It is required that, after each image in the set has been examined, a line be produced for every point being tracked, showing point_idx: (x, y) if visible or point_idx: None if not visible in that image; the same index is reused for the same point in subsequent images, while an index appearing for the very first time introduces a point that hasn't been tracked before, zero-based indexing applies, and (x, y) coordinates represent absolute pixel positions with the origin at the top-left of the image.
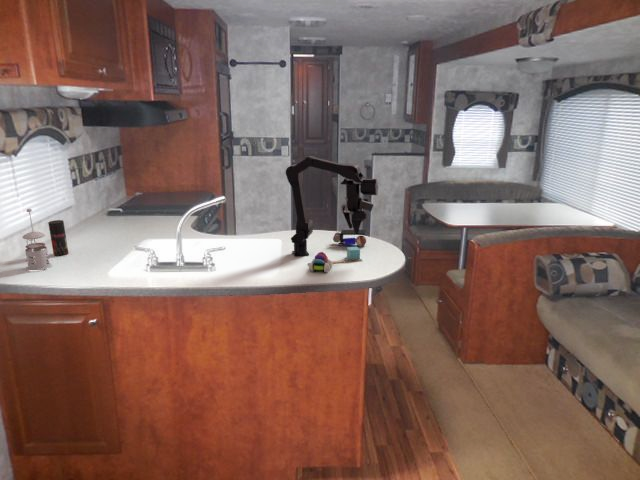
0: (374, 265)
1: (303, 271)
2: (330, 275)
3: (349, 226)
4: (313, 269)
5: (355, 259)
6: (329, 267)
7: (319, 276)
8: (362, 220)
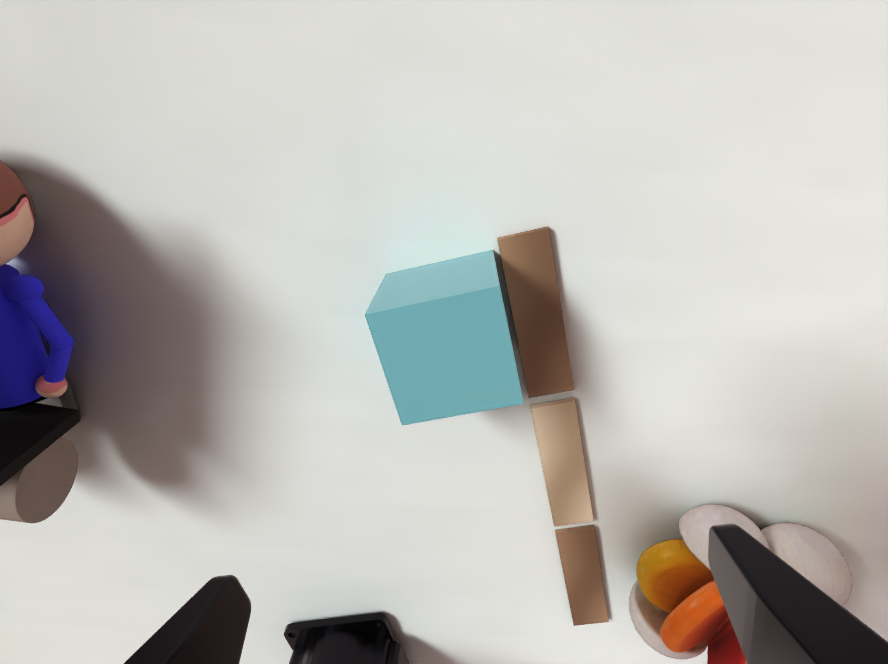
0: (722, 95)
1: None
2: (866, 509)
3: (235, 654)
4: None
5: (516, 298)
6: (826, 547)
7: (856, 570)
8: None
